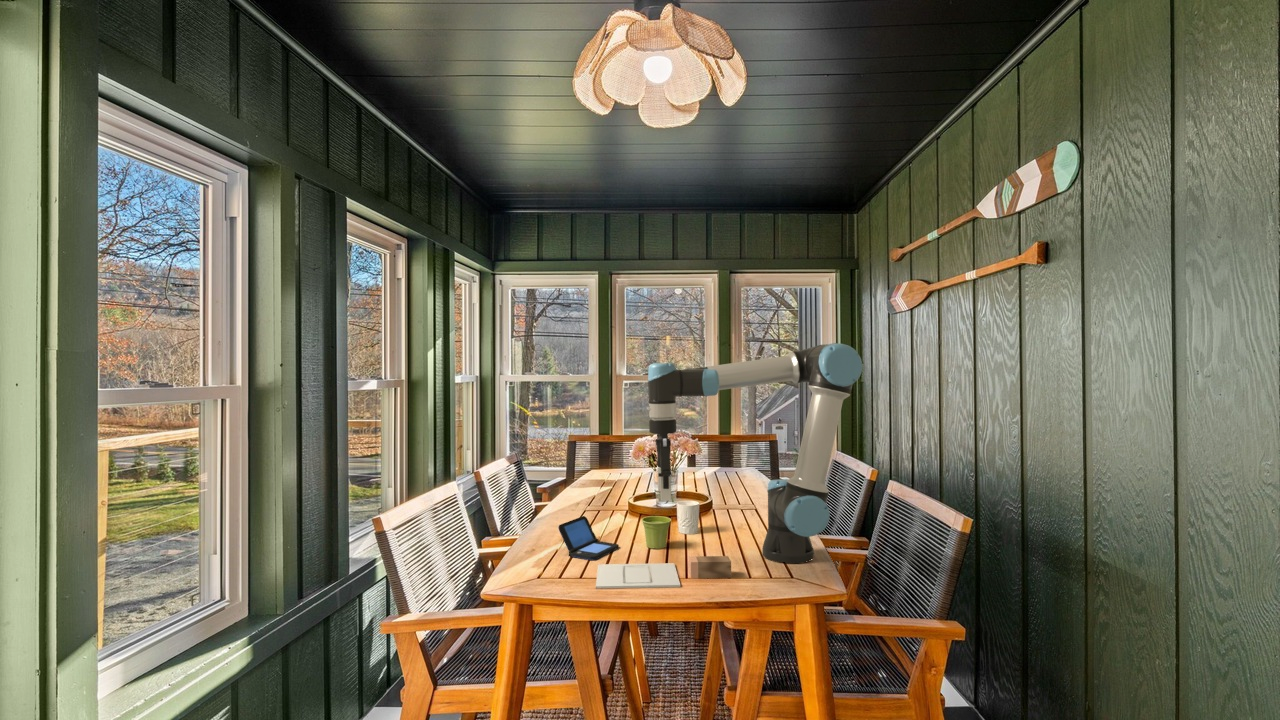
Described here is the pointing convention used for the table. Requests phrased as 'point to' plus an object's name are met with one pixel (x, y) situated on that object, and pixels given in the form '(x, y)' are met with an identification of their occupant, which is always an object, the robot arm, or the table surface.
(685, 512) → the white cup
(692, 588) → the table surface
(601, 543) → the handheld game console
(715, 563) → the walnut block
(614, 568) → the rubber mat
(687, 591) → the table surface
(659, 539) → the plant pot
